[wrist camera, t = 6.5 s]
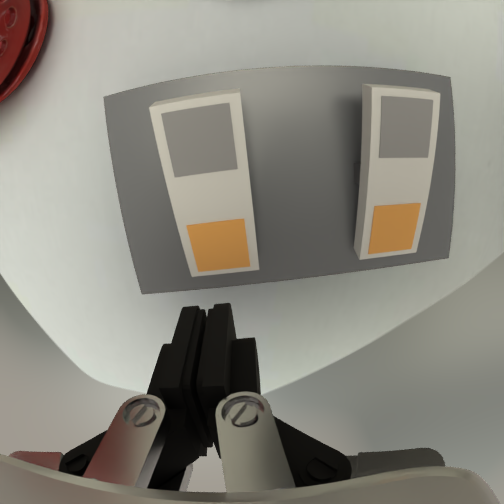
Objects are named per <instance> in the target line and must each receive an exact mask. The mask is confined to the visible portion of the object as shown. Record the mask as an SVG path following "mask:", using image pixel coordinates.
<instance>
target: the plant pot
mask: <svg viewBox="0 0 504 504" xmlns="http://www.w3.org/2000/svg"><path fill="white" fill-rule="evenodd" d="M47 23H48V3H47V0H0V102H1V101H3V100H4V99H5V98H6V97H8V96H9V95H10V94H11V93H12V92H13V91H14V90H15V89H16V88H17V87H18V85H19V84H20V83H21V82H22V80H23V79H24V78H25V76H26V75H27V73H28V72H29V70H30V69H31V67H32V65H33V63H34V62H35V60H36V57H37V55H38V53H39V51H40V48H41V46H42V43H43V40H44V37H45V33H46V29H47Z"/></svg>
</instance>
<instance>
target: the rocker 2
mask: <svg viewBox="0 0 504 504" xmlns="http://www.w3.org/2000/svg"><path fill="white" fill-rule="evenodd" d="M439 109H440V93H438V92H435V91H432V90H430V89H424V88H415V87H404V86H392V85H377V84H362V145H361V167H360V184H359V197H358V210H357V221H356V231H355V240H354V250H355V252H356V254H357V256H358V258H359V260H362V259H370V258H378V257H385V256H393V255H401V254H408V253H416V251H417V247H418V243H419V239H420V234H421V230H422V225H423V221H424V216H425V211H426V206H427V201H428V195H429V190H430V184H431V178H432V171H433V165H434V157H435V150H436V141H437V132H438V121H439Z"/></svg>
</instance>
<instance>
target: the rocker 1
mask: <svg viewBox="0 0 504 504" xmlns="http://www.w3.org/2000/svg"><path fill="white" fill-rule="evenodd" d="M149 110H150V115H151V119H152V124H153V129H154V133H155V138H156V142H157V147H158V151H159V155H160V160H161V164H162V168H163V172H164V176H165V181H166V185H167V189H168V193H169V197H170V200H171V204H172V208H173V212H174V216H175V220H176V223H177V227H178V231H179V234H180V238H181V242H182V245H183V249H184V252H185V256H186V259H187V263H188V266H189V270H190V273H191V276H192V277H196V276H206V275H216V274H225V273H235V272H244V271H253V270H259V261H258V251H257V242H256V232H255V223H254V214H253V204H252V195H251V186H250V177H249V168H248V159H247V150H246V141H245V132H244V123H243V114H242V105H241V96H240V88H239V89H230V90H222V91H215V92H208V93H201V94H195V95H189V96H183V97H177V98H172V99H167V100H162V101H157V102H154V103H153V104H152V105H151V106H150V107H149Z"/></svg>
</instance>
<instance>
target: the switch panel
mask: <svg viewBox="0 0 504 504" xmlns="http://www.w3.org/2000/svg"><path fill="white" fill-rule="evenodd" d="M362 84H377V85H392V86H404V87H415V88H424V89H430V90H432V91H435V92H438V93H440V109H439V121H438V132H437V141H436V150H435V157H434V165H433V171H432V178H431V184H430V190H429V195H428V201H427V206H426V211H425V216H424V221H423V225H422V230H421V234H420V239H419V243H418V247H417V251H416V253H408V254H401V255H393V256H385V257H378V258H370V259H362V260H359V258H358V256H357V254H356V252H355V250H354V240H355V231H356V221H357V210H358V197H359V184H360V167H361V145H362ZM239 88H240V96H241V105H242V114H243V123H244V132H245V141H246V150H247V159H248V168H249V177H250V186H251V195H252V204H253V214H254V223H255V232H256V242H257V251H258V261H259V270H253V271H244V272H235V273H225V274H216V275H206V276H196V277H192V276H191V273H190V270H189V266H188V263H187V259H186V256H185V252H184V249H183V245H182V242H181V238H180V234H179V231H178V227H177V223H176V220H175V216H174V212H173V208H172V204H171V200H170V197H169V193H168V189H167V185H166V181H165V176H164V172H163V168H162V164H161V160H160V155H159V151H158V147H157V142H156V138H155V133H154V129H153V124H152V119H151V115H150V110H149V107H150V106H151V105H152V104H153V103H154V102H157V101H162V100H167V99H172V98H177V97H183V96H189V95H195V94H201V93H208V92H215V91H222V90H230V89H239ZM104 106H105V115H106V123H107V131H108V138H109V145H110V152H111V158H112V164H113V170H114V176H115V182H116V187H117V193H118V198H119V203H120V208H121V212H122V217H123V222H124V226H125V231H126V235H127V239H128V244H129V248H130V252H131V256H132V260H133V264H134V268H135V271H136V275H137V279H138V282H139V286H140V290H141V293H142V294H152V293H164V292H175V291H186V290H197V289H207V288H218V287H228V286H237V285H247V284H256V283H265V282H274V281H283V280H292V279H300V278H308V277H317V276H325V275H333V274H340V273H348V272H356V271H363V270H371V269H378V268H385V267H392V266H399V265H406V264H413V263H420V262H426V261H433V260H439V259H446V258H449V251H450V242H451V233H452V223H453V210H454V193H455V127H454V110H453V98H452V88H451V79H450V77H447V76H441V75H435V74H429V73H422V72H415V71H406V70H397V69H387V68H374V67H357V66H286V67H269V68H256V69H245V70H236V71H227V72H219V73H212V74H205V75H199V76H193V77H187V78H181V79H176V80H171V81H166V82H161V83H156V84H152V85H148V86H143V87H139V88H135V89H131V90H127V91H123V92H120V93H116V94H112V95H109V96H105V97H104Z"/></svg>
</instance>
